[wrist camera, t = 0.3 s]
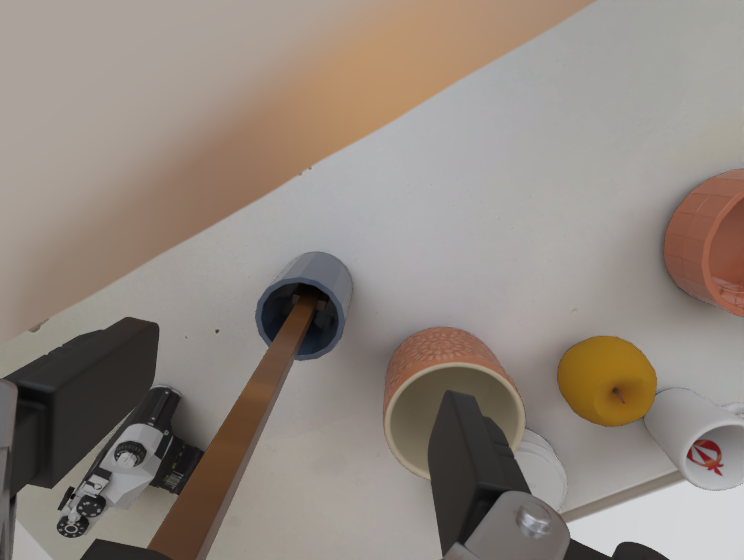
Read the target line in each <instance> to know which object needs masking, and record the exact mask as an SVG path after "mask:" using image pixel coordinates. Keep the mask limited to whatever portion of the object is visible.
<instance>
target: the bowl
mask: <svg viewBox="0 0 744 560" xmlns="http://www.w3.org/2000/svg"><path fill="white" fill-rule="evenodd" d="M663 252H664V253H663V254H664V259H665V263H666V267H667V271H668V273H669V274H670V276H671V277H672V279H673V280H674V282H675V283H676V284H677V286H678V287H679V288H681V289H682V290H684V291H685V292H687V293H688V294H690V295H691V296H693V297H695V298H697V299H700V300H702V301H704V302H706V303H709V304H711V305H713V306H716V307H718V308H720V309H722V310H725V311H727V312H729V313H732V314H734V315H738V316H742V317H744V169H734V170H731V171H728V172H725V173H723V174H720V175H718V176H715V177H712V178H710V179H708V180H707V181H705V182H704V183H703V184H701V185H700V186H699V187H697V188H696V189H694V190H693V191H692V192H690V193H689V195H688V196H687V197H686V198H685V200H684V201H683V202H682V203H681V204H680V206H679V207H678V208H677V209H676V211H675V212H674V214H673V216H672V219H671V221H670V223H669V225H668V228H667V230H666V234H665V243H664V251H663Z"/></svg>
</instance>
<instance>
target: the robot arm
mask: <svg viewBox="0 0 744 560" xmlns="http://www.w3.org/2000/svg"><path fill="white" fill-rule="evenodd" d="M158 341H159V326H158V324H157V323H154V322H149V321H145V320H140V319H136V318H132V317H125V318H123V319H122V320H120V321H118V322H117V323H115V324H113V325H112V326H110V327H108V328H107V329H105V330H97V331H94V332H90V333H86V334H83V335H79V336H77V337H75V338H74V339H72V340H70V341H68V342H67V343H65V344H63V345H62V347H58V348H56V349H54V350H52V351H51V352H49V354H48V355H43V356H42V357H40V358H38V359H36V360H34V361H33V362H31V363H29V364H27V365H26V366H24V367H22V368H20V369H18V370H17V371H15V372H13V373H11V374H9V375H8V376H6V377H4V378H2V379H0V560H12V554H13V542H14V531H15V519H16V508H17V493H18V492H19V491H20V490H21V489H22V488H23V487H24V486H25V485H26V484H30V485H35V486H40V487H45V488H49V489H52V488H53V487H54V486H55V485H56V484H57V483H58V482H59V481H60V480H61V479H62V478H63V477H64V476H65V475H66V474H67V473H68V472H69V471H70V470H71V469H72V468H73V467H74V466H75V465H76V464H78V463H79V462H80V461H81V460H82V459H83V458H84V457H85V456H86V455H87V454H88V453H89V452H90V451H91V450H92V449H93V448H94V447H95V446H96V445H97V444H98V443H99V442H100V441H101V440H102V439H103V438H104V437H105V436H106V435H107V434H108V433H109V432H110V431H111V430H112V429H113V428H114V427H115V426H116V425H117V424H118V423H119V422H120V421H121V420H122V419H123V418H125V417H126V416H127V415H128V414H129V413H130V412H131V411H132V410H133V409H134V408H135V407H136V406H137V405H138V404H139V403H140V402H141V401H142V400H143V399H144V398H145V397H146V395H147V394H148V392H149V390H150V388H151V386H152V384H153V381H154V377H155V369H156V359H157V350H158ZM514 457H515V456H514V454H513V452H512V450H511V447H509V443H508V441H507V439H506V436H505V434H504V432H503V430H502V429H501V428H500V427H499V426H498V425H497V424H496V423H495V422H494V421H493V420H492V419H491V418H490V417H486V416H483V415H482V413H481V410H480V408H479V405H478V403H477V401H476V398H475V396H473V395H470V394H465V393H461V392H456V391H452V390H446V392H445V393H444V395H443V398H442V401H441V404H440V407H439V411H438V414H437V417H436V420H435V423H434V426H433V429H432V432H431V436H430V439H429V444H428V453H427V459H428V467H429V473H430V479H431V486H432V492H433V499H434V505H435V511H436V518H437V524H438V530H439V537H440V543H441V550H442V556H443V559H442V560H669V559H668V558H666V557H665V556H663V555H662V554H660V553H658V552H657V551H655V550H653V549H651V548H649V547H647V546H644V545H642V544H639V543H634V542H622V543H620V544H619V545H618V546H617V548H616V550H615V552H614V554H613V555H612V557H609V556H607V555H605V554H603V553H600V552H598V551H596V550H594V549H592V548H590V547H588V546H585V545H583V544H581V543H579V542H577V541H575V540H573V539H571V538H570V532H569V529H568V527H567V525H566V523H565V522H564V520H563V519H562V517H561V516H560V515H559V514H558V513H557V512H556V511H555V510H554V509H553V508H552V507H551V506H550V505H548V504H547V503H545V502H544V501H542V500H541V499H539V498H537V497H535V496H533V495H532V493H531V491H530V489H529V487H528V484H527V482H526V480H525V478H524V476H523V474H522V471H521V469H520V467H519V465H518V463H517V460H516V459H514ZM80 560H173V559H171V558H169V557H167V556H166V555H164V554H162V553H160V552H158V551H155V550H150V549H145V548H140V547H135V546H130V545H125V544H120V543H116V542H111V541H106V540H101V539H95V541H94V542H93V543H92V545H91V546H90V547H89V548H88V550H87V551H86V552H85V554H84V555H83V556H82V558H81V559H80Z"/></svg>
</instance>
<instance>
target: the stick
mask: <svg viewBox="0 0 744 560" xmlns="http://www.w3.org/2000/svg"><path fill="white" fill-rule="evenodd" d="M329 298H330V297H329V296H328V294H326V293H325V292H323V291H322V290H320V289H319V288H317V287H316V286H313V285H309V284H305V283H300V285H299V286H298V288H297V289H296V291H295V292H294V294H293V297H292V303H291V304H295V306H294V308H293V309H292V311H291V313H290V314H289V316H288V318H287V319H286V321H285V322H284V324H283V326H282V327H281V329H280V331H279V332H278V334H277V336H276V337H275V339H274V340H273V342H272V344H271V345H270V347H269V349H268V350H267V352H266V354H265V355H264V357H263V359H262V360H261V362H260V363H259V365H258V367H257V368H256V370H255V372H254V373H253V375H252V377H251V378H250V380H249V381H248V383H247V385H246V386H245V388H244V390H243V391H242V393H241V395H240V396H239V398H238V400H237V401H236V403H235V404H234V406H233V408H232V409H231V411H230V413H229V414H228V416H227V418H226V419H225V421H224V422H223V424H222V426H221V427H220V429H219V431H218V432H217V434H216V436H215V437H214V439H213V441H212V442H211V444H210V445H209V447H208V449H207V450H206V452H205V454H204V455H203V457H202V459H201V460H200V462H199V463H198V465H197V467H196V468H195V470H194V472H193V473H192V475H191V477H190V478H189V480H188V482H187V483H186V485H185V486H184V488H183V490H182V491H181V493H180V495H179V496H178V498H177V500H176V501H175V503H174V504H173V506H172V508H171V509H170V511H169V513H168V514H167V516H166V518H165V519H164V521H163V523H162V524H161V526H160V527H159V529H158V531H157V532H156V534H155V536H154V537H153V539H152V541H151V542H150V544H149V545H148V547H147V549H150V550H155V551H158V552H160V553H162V554H164V555H166V556H167V557H169V558H171V559H173V560H206V557H207V555H208V553H209V551H210V548H211V546H212V544H213V542H214V539H215V537H216V535H217V533H218V530H219V528H220V526H221V524H222V521H223V519H224V517H225V515H226V512H227V510H228V508H229V506H230V503H231V501H232V499H233V497H234V494H235V492H236V490H237V488H238V485H239V483H240V481H241V479H242V476H243V474H244V472H245V470H246V467H247V465H248V463H249V461H250V458H251V456H252V454H253V452H254V449H255V447H256V445H257V443H258V440H259V438H260V436H261V434H262V431H263V429H264V427H265V425H266V422H267V420H268V418H269V416H270V413H271V411H272V409H273V407H274V404H275V402H276V400H277V398H278V395H279V393H280V391H281V389H282V386H283V384H284V382H285V380H286V377H287V375H288V373H289V371H290V368H291V366H292V364H293V362H294V359H295V357H296V355H297V353H298V350H299V348H300V346H301V344H302V341H303V339H304V337H305V335H306V332H307V330H308V328H309V326H310V324H311V321H312V319H313V317H314V315H315V312H316V310H321V311H325V309H326V306H327V304H328V301H329Z"/></svg>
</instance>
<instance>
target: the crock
mask: <svg viewBox="0 0 744 560" xmlns="http://www.w3.org/2000/svg"><path fill="white" fill-rule="evenodd" d="M300 283H305V284H309V285H313V286H316V287H317V288H319V289H320V290H322V291H323V292H325V293H326V294H328V296H329V297H330V298H329V301H328V304H327V306H326V309H325V311H321V310H316V312H315V315H314V317H313V319H312V321H311V324H310V326H309V328H308V330H307V332H306V335H305V337H304V339H303V341H302V344H301V346H300V348H299V350H298V353H297V355H296V357H295V360H299V361H303V360H310V359H317V358H319V357H321V356H323V355H324V354H326V353H328V352H330V351H331V350H332V349H333V348H334V347H335V345H336V344H337V343H338V341H339V340H340V339H341V337H342V333H343V329H344V324H345V320H346V316H347V312H348V307H349V303H350V299H351V294H352V290H353V288H352V279H351V276H350V273H349V271H348V269H347V268H346V266H345V265H344V264H343V263H342V262H341V261H340V260H339V259H338V258H336V257H334V256H332V255H330V254H327V253H323V252H309V253H305V254H303V255H301V256H299V257H297V258H296V259H294V260H293V261H292V262H291V263H290V264H289V265H288V266H287V267H286V268H285V269H284V270H283V271H282V272H281V273H280V275H279V276H278V277H277V278H276V279H275V280H274V281H273V282H272V283H271V284H270V286H269V287H268V288H267V289H266V290H265V292H264V293H263V295H262V296H261V298H260V299H259V301H258V304H257V309H256V315H255V319H256V323H257V327H258V331H259V334H260V336H261V337H262V339H263V340H264V341H265V343H266V344H267V345H268V347H270V345H271V344H272V342H273V340H274V339H275V337H276V336H277V334H278V332H279V331H280V329H281V327H282V326H283V324H284V322H285V321H286V319H287V318H288V316H289V314H290V313H291V311H292V309H293V308H294V306H295V304H291V303H292V297H293V294H294V292H295V291H296V289H297V288H298V286H299V285H300Z"/></svg>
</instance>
